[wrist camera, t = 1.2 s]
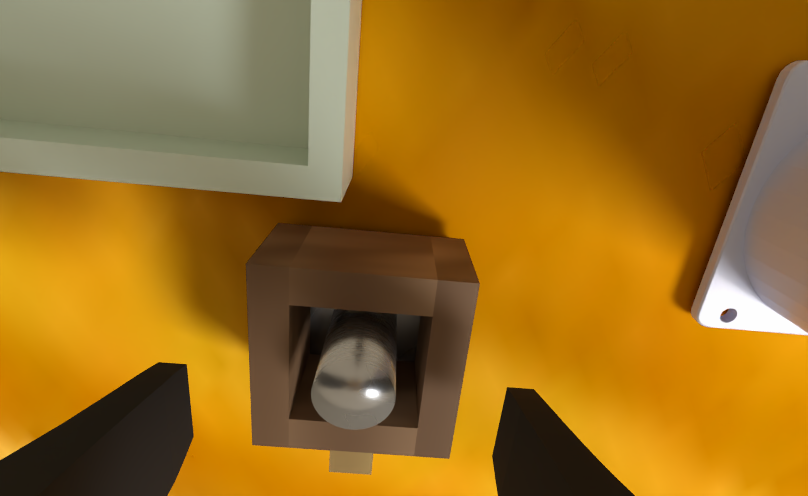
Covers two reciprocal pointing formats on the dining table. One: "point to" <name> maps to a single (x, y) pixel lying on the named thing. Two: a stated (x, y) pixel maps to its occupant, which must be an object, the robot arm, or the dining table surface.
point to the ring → (361, 291)
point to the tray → (183, 93)
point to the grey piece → (358, 363)
